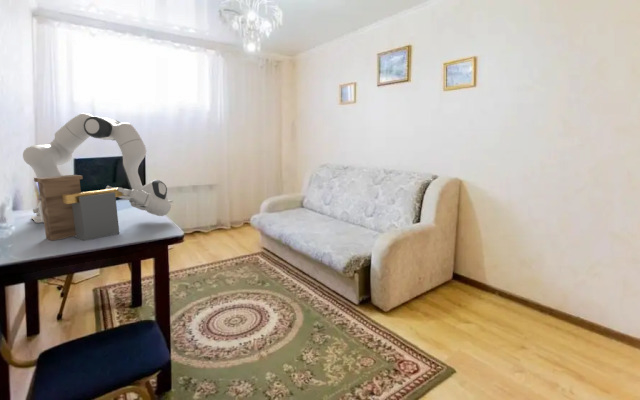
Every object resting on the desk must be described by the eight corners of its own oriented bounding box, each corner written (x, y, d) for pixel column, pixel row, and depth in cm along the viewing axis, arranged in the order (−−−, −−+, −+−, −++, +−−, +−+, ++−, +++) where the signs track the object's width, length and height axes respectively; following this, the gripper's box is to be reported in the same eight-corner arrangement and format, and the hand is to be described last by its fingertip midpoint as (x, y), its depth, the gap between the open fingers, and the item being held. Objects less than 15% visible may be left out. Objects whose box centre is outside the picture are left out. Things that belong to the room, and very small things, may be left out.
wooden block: (67, 203, 141) (66, 195, 141) (63, 203, 143) (62, 194, 142) (122, 196, 159) (121, 188, 159) (118, 195, 161) (117, 188, 161)
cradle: (76, 237, 150) (70, 195, 147) (110, 230, 162) (105, 190, 159) (85, 240, 146) (79, 197, 143) (119, 233, 158) (115, 192, 154)
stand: (42, 238, 149) (33, 177, 144) (81, 231, 161) (74, 174, 156) (49, 241, 145) (41, 179, 140) (89, 233, 157) (82, 175, 153)
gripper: (130, 191, 175) (103, 180, 163) (154, 195, 164) (127, 183, 153) (125, 203, 173) (97, 192, 162) (149, 207, 162) (121, 196, 151)
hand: (112, 188), depth 157 cm, fingers open, 8 cm apart
